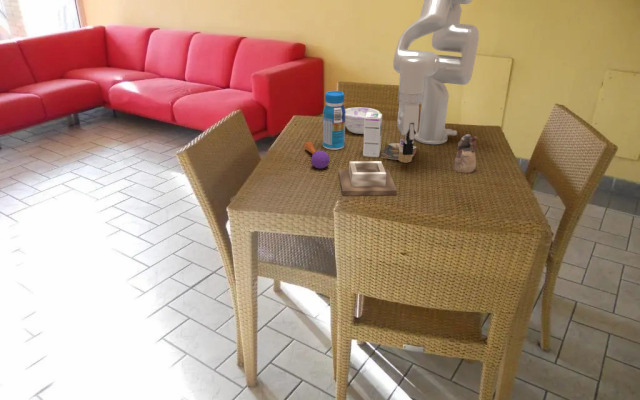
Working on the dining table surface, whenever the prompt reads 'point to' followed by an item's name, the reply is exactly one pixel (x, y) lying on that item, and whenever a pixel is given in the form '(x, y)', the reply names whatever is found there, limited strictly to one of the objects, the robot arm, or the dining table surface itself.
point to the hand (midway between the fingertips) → (405, 150)
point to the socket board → (366, 179)
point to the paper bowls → (357, 118)
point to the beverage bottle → (334, 121)
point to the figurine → (465, 155)
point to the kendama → (317, 156)
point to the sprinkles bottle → (402, 157)
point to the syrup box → (372, 134)
